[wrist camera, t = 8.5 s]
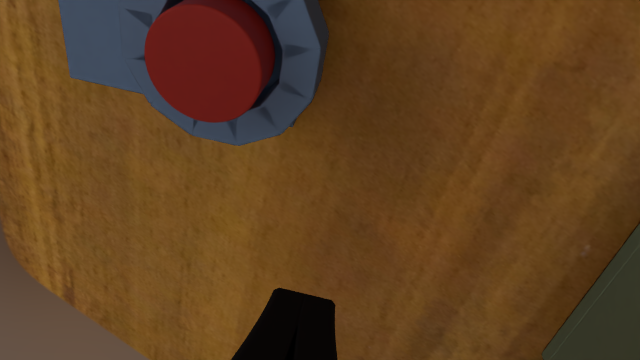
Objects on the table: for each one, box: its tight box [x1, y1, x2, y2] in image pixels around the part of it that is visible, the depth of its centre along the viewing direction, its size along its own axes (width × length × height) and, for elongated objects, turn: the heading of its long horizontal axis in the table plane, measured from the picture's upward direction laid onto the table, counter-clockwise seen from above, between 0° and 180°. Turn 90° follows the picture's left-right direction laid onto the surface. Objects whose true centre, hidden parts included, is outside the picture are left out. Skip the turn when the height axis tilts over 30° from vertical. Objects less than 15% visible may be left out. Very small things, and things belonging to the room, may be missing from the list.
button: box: [144, 0, 275, 123], centre depth 14 cm, size 4×4×2 cm
